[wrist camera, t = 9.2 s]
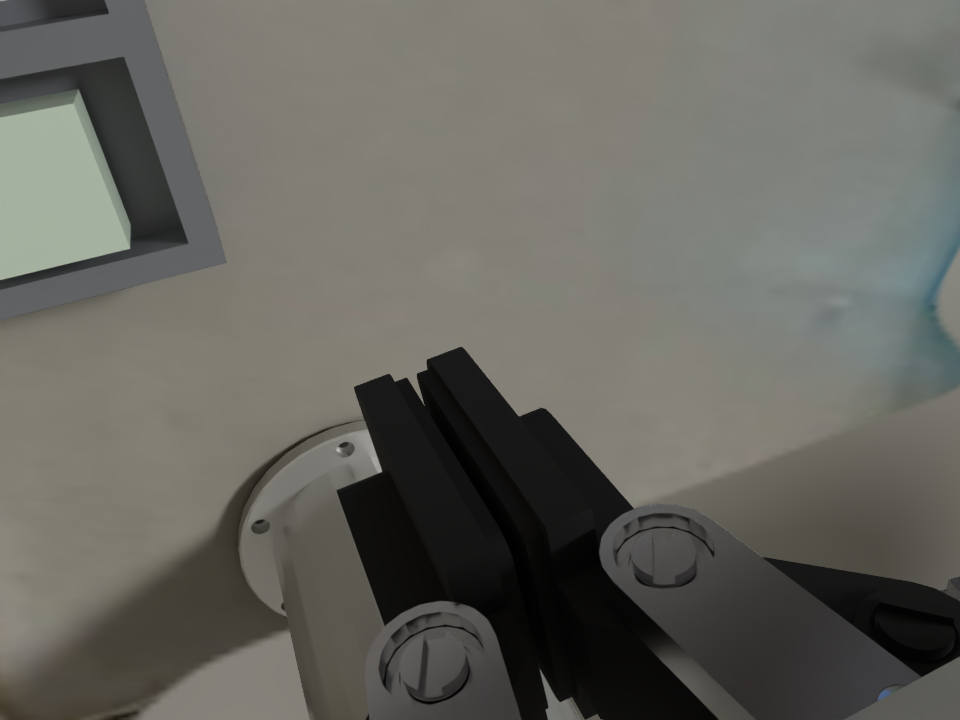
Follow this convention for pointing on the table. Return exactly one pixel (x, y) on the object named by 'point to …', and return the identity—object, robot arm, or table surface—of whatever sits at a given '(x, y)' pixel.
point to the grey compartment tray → (111, 142)
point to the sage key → (55, 187)
